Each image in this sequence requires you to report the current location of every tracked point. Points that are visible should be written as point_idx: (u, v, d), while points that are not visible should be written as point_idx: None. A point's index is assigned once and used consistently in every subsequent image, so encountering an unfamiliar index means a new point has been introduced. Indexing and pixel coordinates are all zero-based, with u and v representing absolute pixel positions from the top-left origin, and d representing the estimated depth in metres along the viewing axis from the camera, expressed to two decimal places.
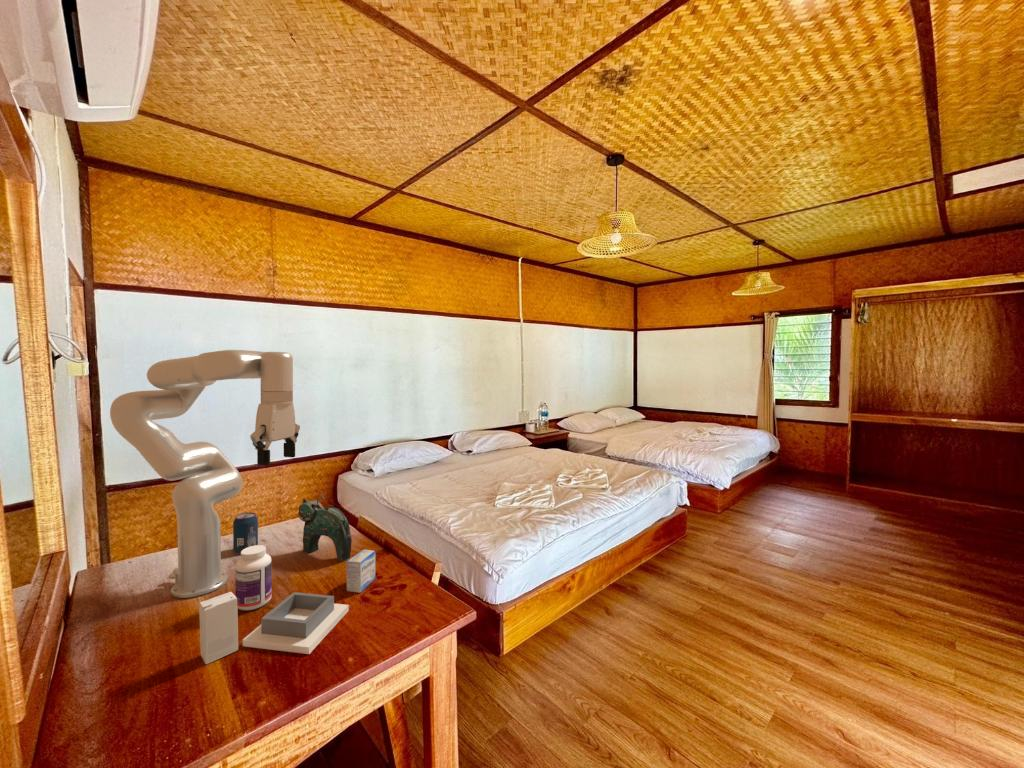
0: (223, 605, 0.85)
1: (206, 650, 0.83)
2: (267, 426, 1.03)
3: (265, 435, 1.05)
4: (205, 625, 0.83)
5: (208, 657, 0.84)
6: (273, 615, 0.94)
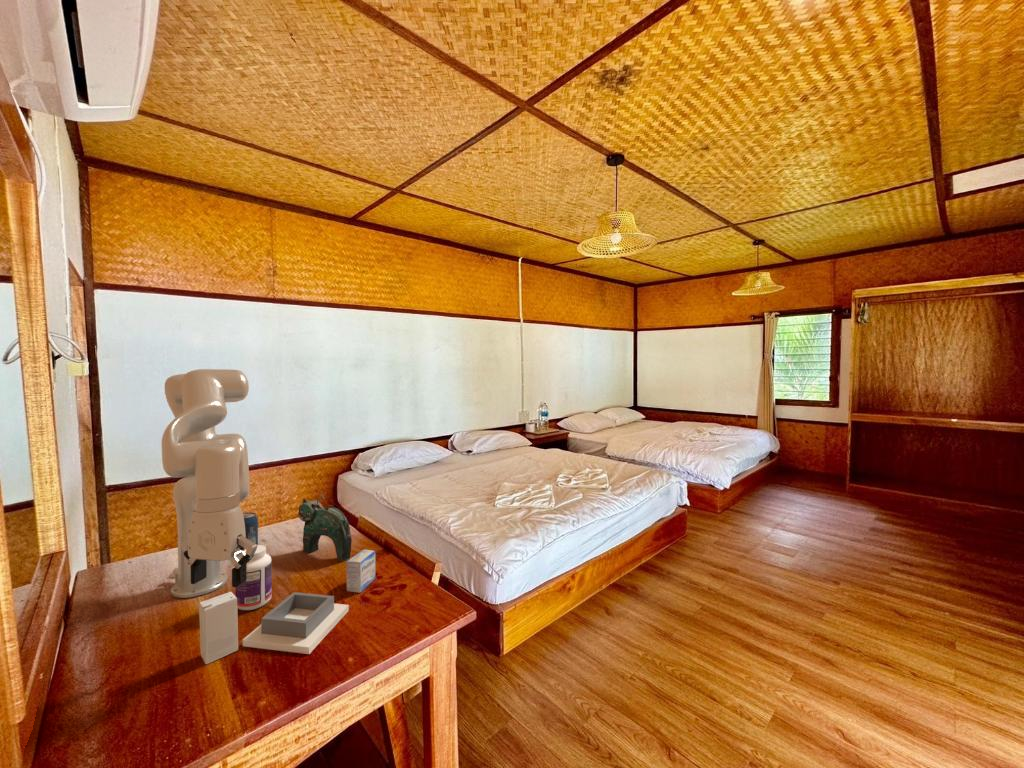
0: (223, 605, 0.85)
1: (206, 650, 0.83)
2: (243, 534, 0.86)
3: None
4: (205, 625, 0.83)
5: (208, 657, 0.84)
6: (273, 615, 0.94)
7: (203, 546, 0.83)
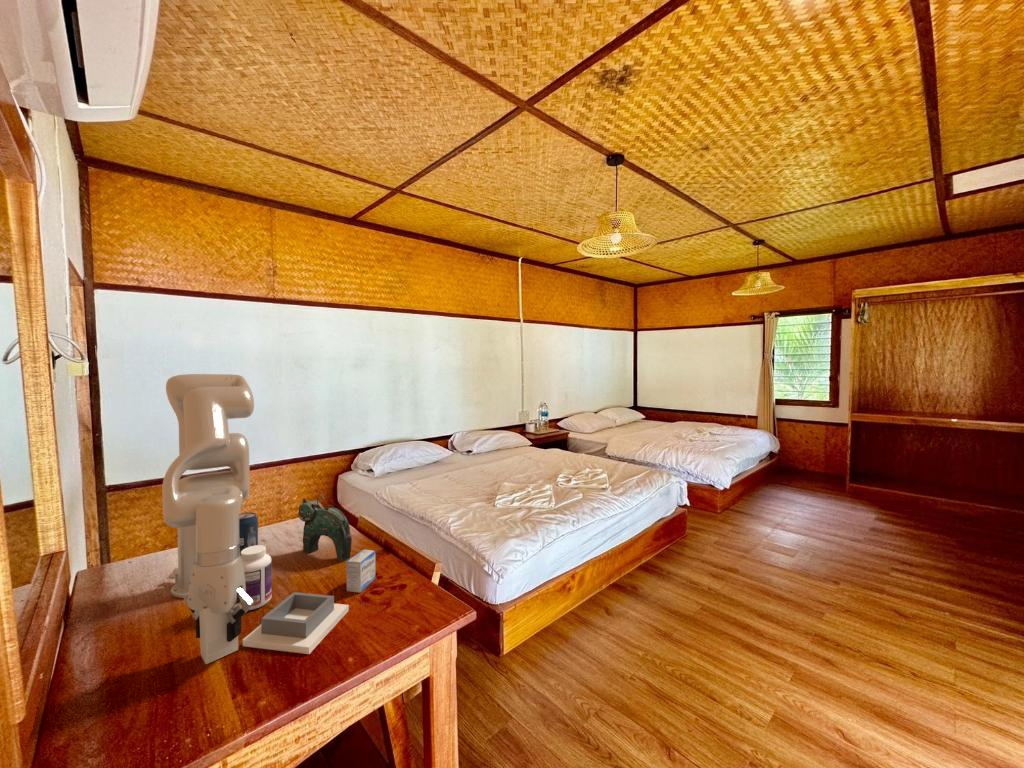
0: None
1: (206, 650, 0.83)
2: (243, 585, 0.87)
3: None
4: (205, 625, 0.83)
5: (208, 657, 0.84)
6: (273, 615, 0.94)
7: (203, 598, 0.84)
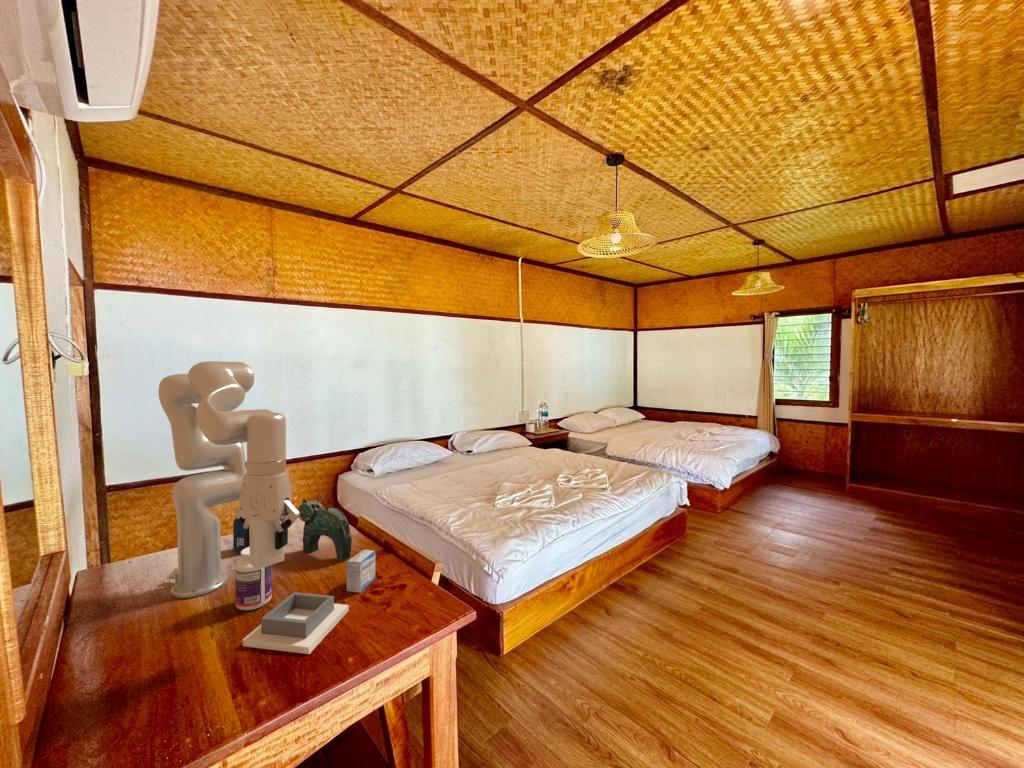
0: None
1: (256, 556, 0.88)
2: (290, 498, 0.91)
3: None
4: (255, 532, 0.88)
5: (258, 563, 0.88)
6: (273, 615, 0.94)
7: (254, 507, 0.89)
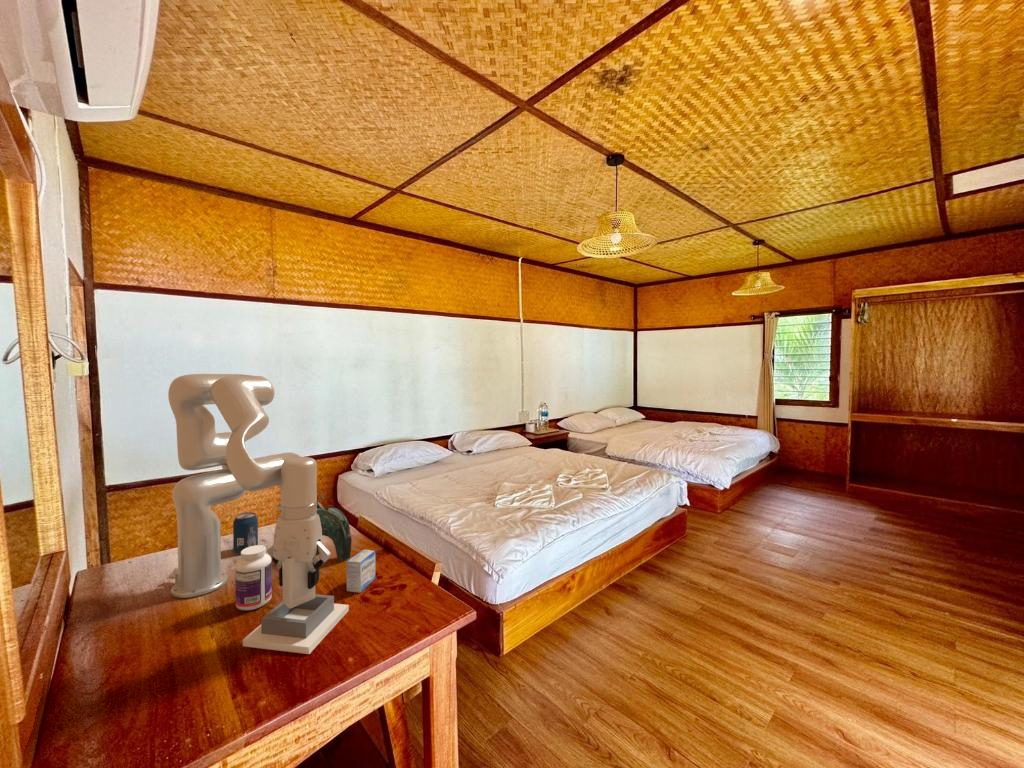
0: None
1: (290, 596, 0.93)
2: (321, 539, 0.96)
3: None
4: (289, 573, 0.92)
5: (291, 602, 0.93)
6: (273, 615, 0.94)
7: (288, 549, 0.93)
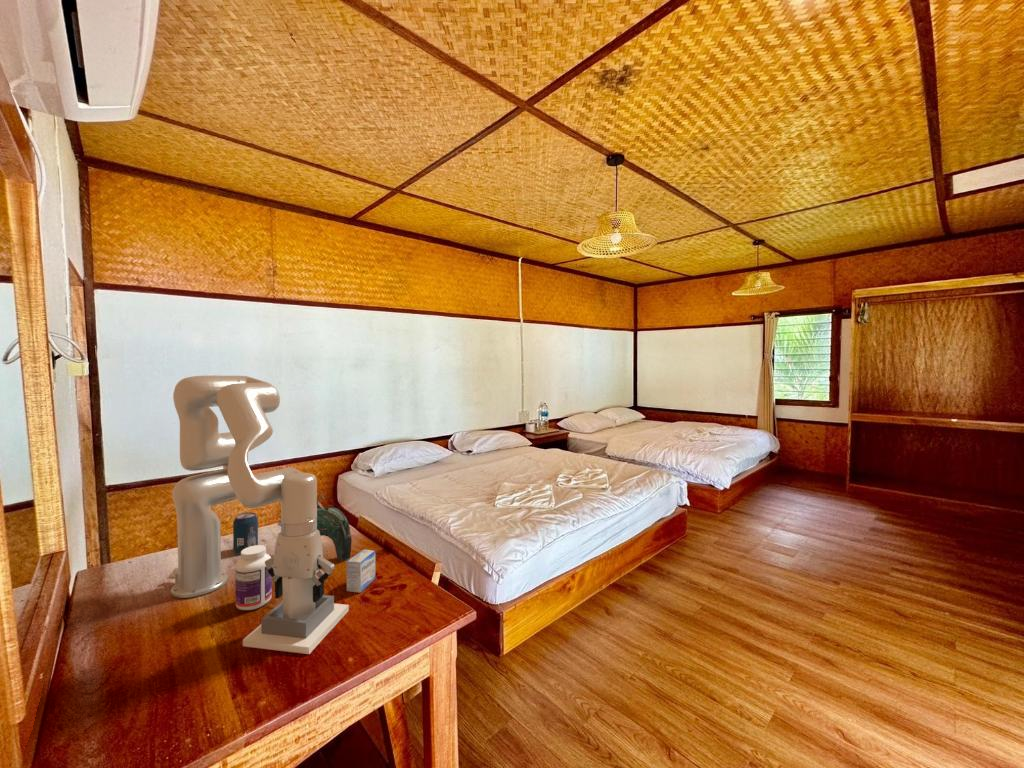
0: None
1: (290, 616, 0.93)
2: (321, 555, 0.96)
3: None
4: (290, 593, 0.92)
5: None
6: (273, 615, 0.94)
7: (288, 566, 0.93)
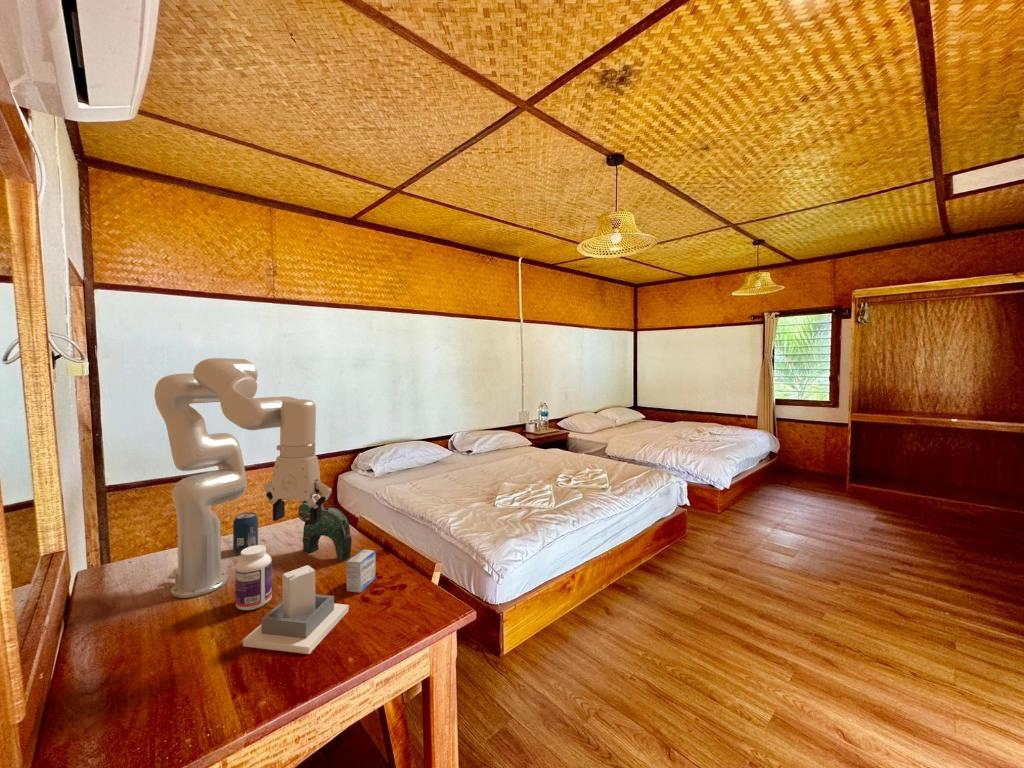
0: (304, 576, 0.95)
1: (290, 616, 0.93)
2: (319, 480, 0.97)
3: None
4: (290, 593, 0.92)
5: None
6: (273, 615, 0.94)
7: (286, 487, 0.94)
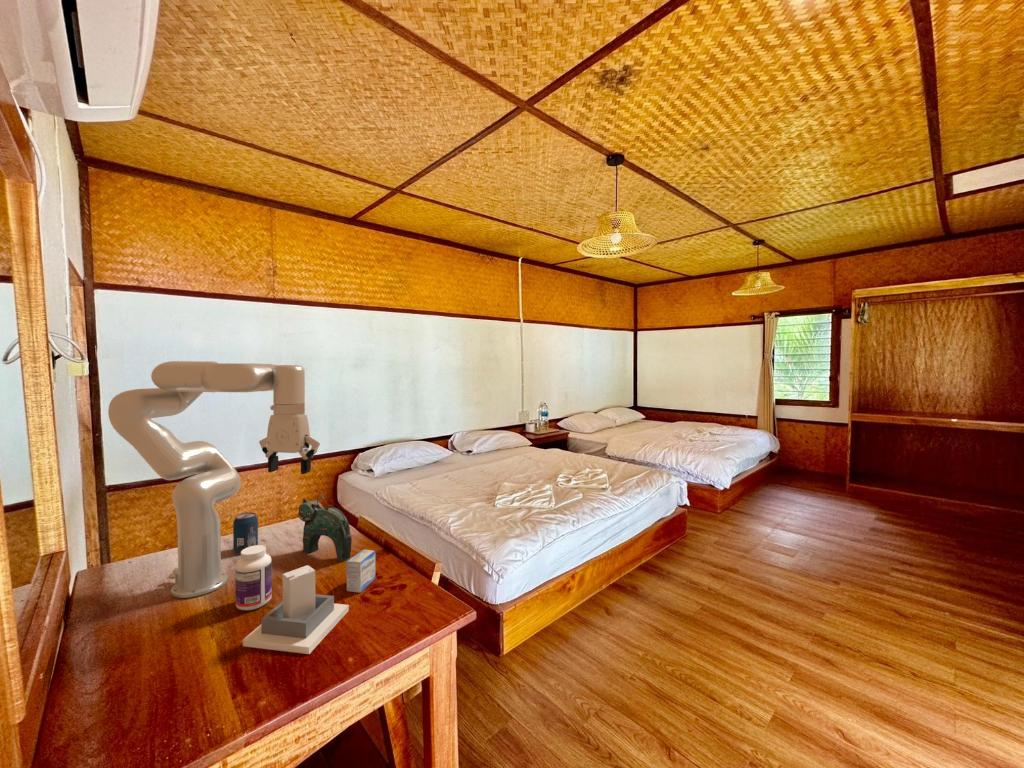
0: (304, 576, 0.95)
1: (290, 616, 0.93)
2: (308, 435, 1.11)
3: None
4: (290, 593, 0.92)
5: None
6: (273, 615, 0.94)
7: (279, 441, 1.08)
